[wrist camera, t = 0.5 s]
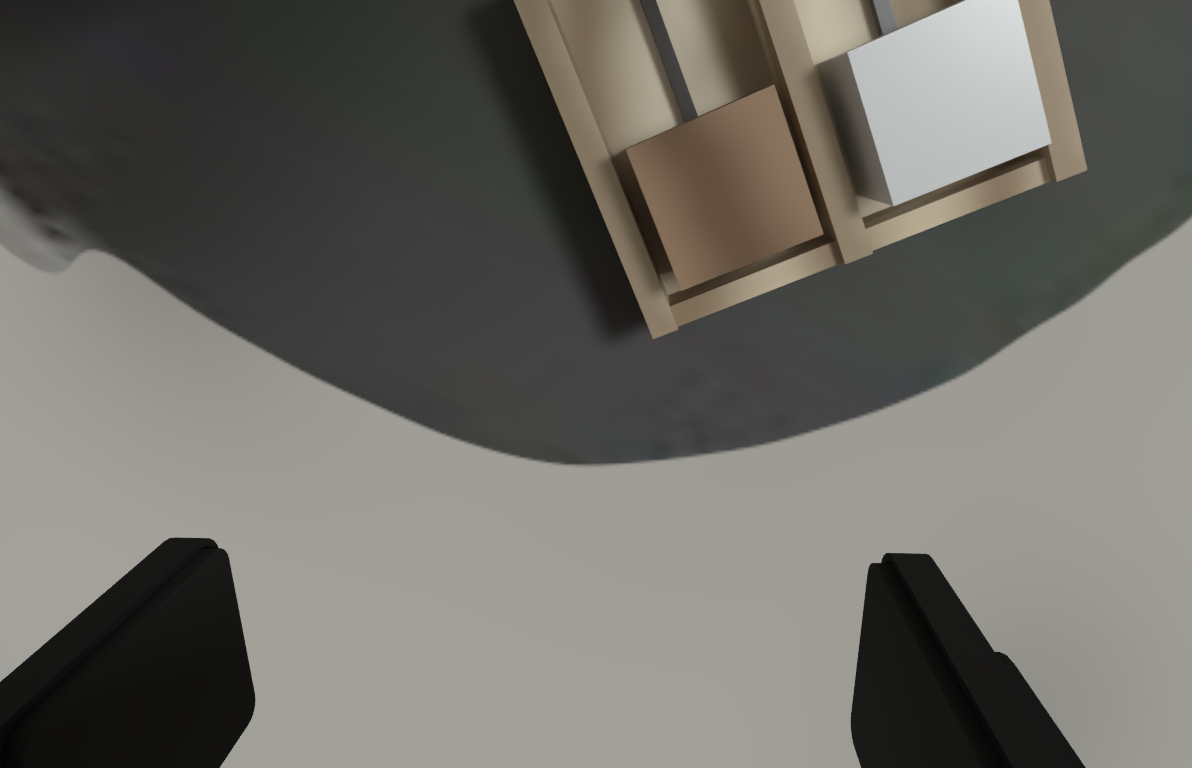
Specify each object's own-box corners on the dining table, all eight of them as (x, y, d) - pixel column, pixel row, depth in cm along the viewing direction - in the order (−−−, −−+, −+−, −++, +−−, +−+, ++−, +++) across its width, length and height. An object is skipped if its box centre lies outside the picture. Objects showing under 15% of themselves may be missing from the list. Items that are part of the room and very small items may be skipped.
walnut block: (667, -171, 30) (672, -241, 25) (799, 220, 35) (829, 237, 29) (531, -101, 31) (506, -152, 26) (676, 269, 36) (682, 296, 30)
